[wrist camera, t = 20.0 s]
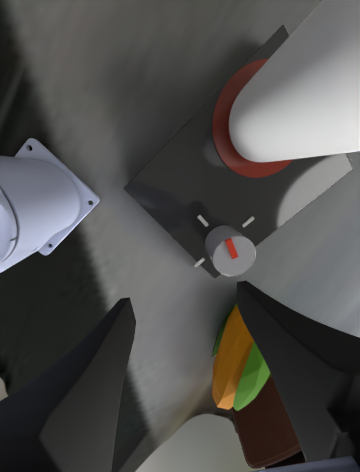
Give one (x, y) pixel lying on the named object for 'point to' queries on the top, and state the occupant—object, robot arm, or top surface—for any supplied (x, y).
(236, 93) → the burner ring
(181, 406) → the top surface
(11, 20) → the top surface
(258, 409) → the letter holder
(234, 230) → the knob
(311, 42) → the can
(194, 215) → the hob
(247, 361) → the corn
